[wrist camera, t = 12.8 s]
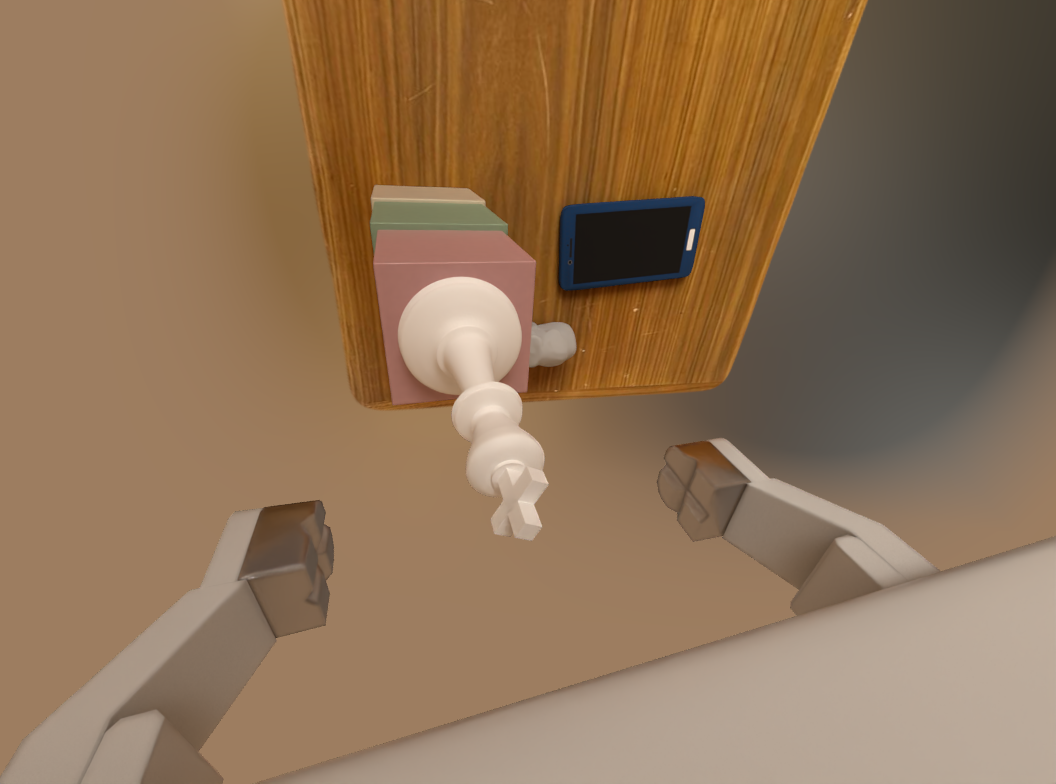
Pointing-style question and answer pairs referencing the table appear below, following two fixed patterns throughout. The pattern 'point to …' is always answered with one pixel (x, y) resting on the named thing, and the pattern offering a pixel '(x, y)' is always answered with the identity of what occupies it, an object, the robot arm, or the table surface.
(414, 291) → the block stack
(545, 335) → the figurine
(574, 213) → the cell phone
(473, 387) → the chess piece
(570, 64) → the table surface
